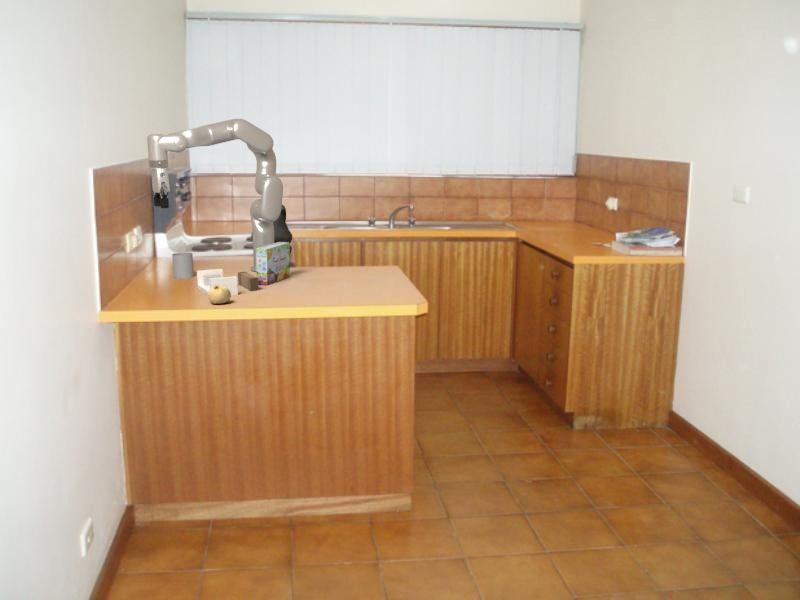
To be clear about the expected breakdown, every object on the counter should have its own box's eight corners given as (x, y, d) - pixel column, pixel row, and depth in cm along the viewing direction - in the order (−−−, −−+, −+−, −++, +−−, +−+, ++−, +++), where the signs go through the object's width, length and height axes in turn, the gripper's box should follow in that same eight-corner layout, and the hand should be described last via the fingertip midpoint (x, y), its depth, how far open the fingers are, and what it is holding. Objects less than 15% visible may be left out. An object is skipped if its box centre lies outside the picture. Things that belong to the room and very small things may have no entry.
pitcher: (244, 257, 387) (241, 206, 382) (267, 251, 406) (265, 203, 401) (279, 259, 379) (277, 207, 374) (302, 253, 399) (300, 204, 393)
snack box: (268, 285, 314) (267, 248, 310) (256, 285, 315) (254, 248, 312) (291, 276, 333) (290, 241, 330) (279, 276, 335) (277, 241, 332)
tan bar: (246, 283, 318) (245, 271, 317) (258, 290, 304) (257, 277, 303) (238, 284, 316) (237, 272, 315) (250, 291, 302) (249, 278, 301)
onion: (210, 301, 285) (209, 282, 283) (232, 301, 285) (231, 281, 284) (206, 305, 277) (205, 286, 275) (229, 305, 277) (228, 286, 276)
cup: (188, 279, 328) (186, 255, 326) (170, 278, 330) (168, 255, 328) (197, 275, 336) (195, 252, 334) (179, 275, 338) (178, 252, 336)
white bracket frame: (222, 285, 314) (221, 268, 312) (237, 294, 296) (236, 276, 294) (197, 288, 309) (196, 270, 308) (211, 297, 291) (210, 279, 289)
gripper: (173, 165, 313) (176, 208, 316) (162, 164, 327) (165, 205, 331) (154, 166, 309) (158, 209, 313) (143, 164, 323) (147, 206, 327)
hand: (161, 207), depth 322 cm, fingers open, 9 cm apart
